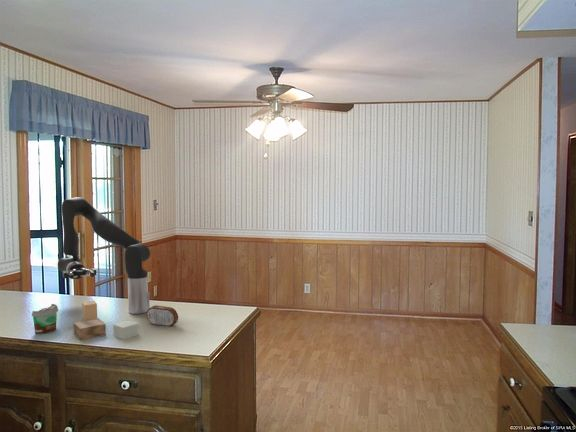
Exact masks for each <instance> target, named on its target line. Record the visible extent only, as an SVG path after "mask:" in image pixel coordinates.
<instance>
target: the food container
mask: <svg viewBox="0 0 576 432" xmlns="http://www.w3.org/2000/svg"><path fill="white" fill-rule="evenodd" d="M58 312H59V307H58V305H57V304H54V303H51V305H50V306H48V307H44V308H41V309H39V310H37V311H35V310H32V313H31V317H32V318H33V319H32V320H33V325H34V333H35V334H36V335H40V334H41V335H43V334H49V333H52V332H54V331H56V330H57V317H58V316H57V315H58ZM55 329H56V330H55Z"/></svg>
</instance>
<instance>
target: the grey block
mask: <svg viewBox="0 0 576 432" xmlns="http://www.w3.org/2000/svg"><path fill="white" fill-rule="evenodd" d="M138 335H139V323H138V322H135V321H132V320H129V319H128V320H125V321H124V320H123V321H120V322H117V323H114V324H113V336H114V337H116V338H119V339H121V340H126V339H129V338H133V337H135V336H138Z"/></svg>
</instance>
